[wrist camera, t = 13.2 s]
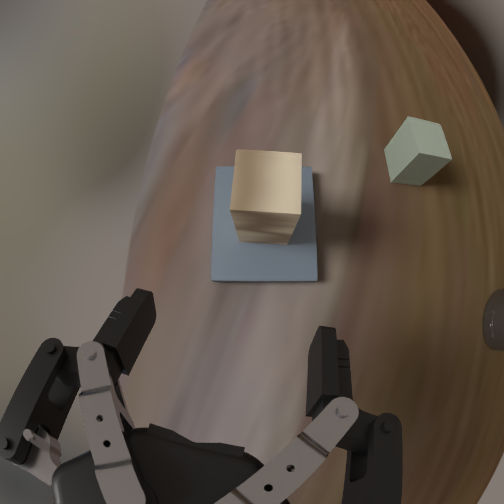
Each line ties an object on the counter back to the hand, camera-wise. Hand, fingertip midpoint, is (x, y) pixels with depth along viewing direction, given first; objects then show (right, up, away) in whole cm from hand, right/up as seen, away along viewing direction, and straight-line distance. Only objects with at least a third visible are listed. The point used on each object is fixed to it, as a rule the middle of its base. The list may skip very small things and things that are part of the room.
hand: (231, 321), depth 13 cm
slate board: (+2, +6, +18) cm, 20 cm away
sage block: (+21, +15, +20) cm, 33 cm away
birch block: (+2, +7, +17) cm, 18 cm away
